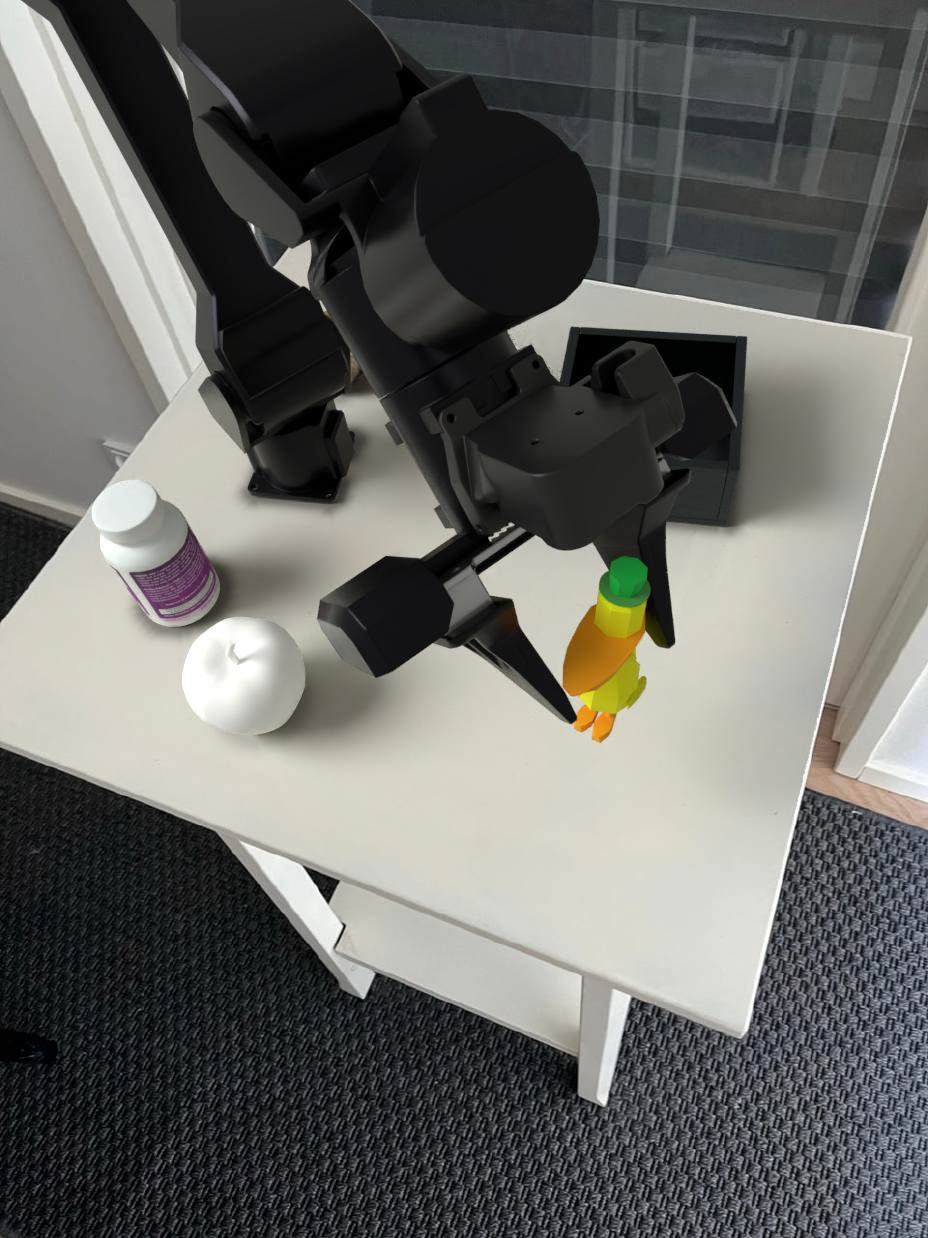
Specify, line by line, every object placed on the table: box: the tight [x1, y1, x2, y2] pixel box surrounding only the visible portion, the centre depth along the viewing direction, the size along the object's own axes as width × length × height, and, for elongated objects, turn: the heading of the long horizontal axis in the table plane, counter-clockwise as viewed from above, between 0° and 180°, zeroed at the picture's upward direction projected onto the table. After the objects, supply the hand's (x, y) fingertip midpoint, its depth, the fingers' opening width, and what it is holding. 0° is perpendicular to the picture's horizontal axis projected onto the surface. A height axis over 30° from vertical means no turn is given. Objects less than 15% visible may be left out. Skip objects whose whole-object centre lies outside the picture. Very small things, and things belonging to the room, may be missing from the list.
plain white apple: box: [181, 616, 306, 736], centre depth 54 cm, size 7×7×8 cm
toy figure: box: [561, 556, 651, 744], centre depth 42 cm, size 7×4×12 cm, turn 147°
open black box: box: [559, 326, 748, 528], centre depth 63 cm, size 12×12×6 cm
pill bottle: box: [91, 478, 221, 628], centre depth 58 cm, size 5×5×10 cm
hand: (619, 683), depth 41 cm, fingers closed on toy figure, 5 cm apart
